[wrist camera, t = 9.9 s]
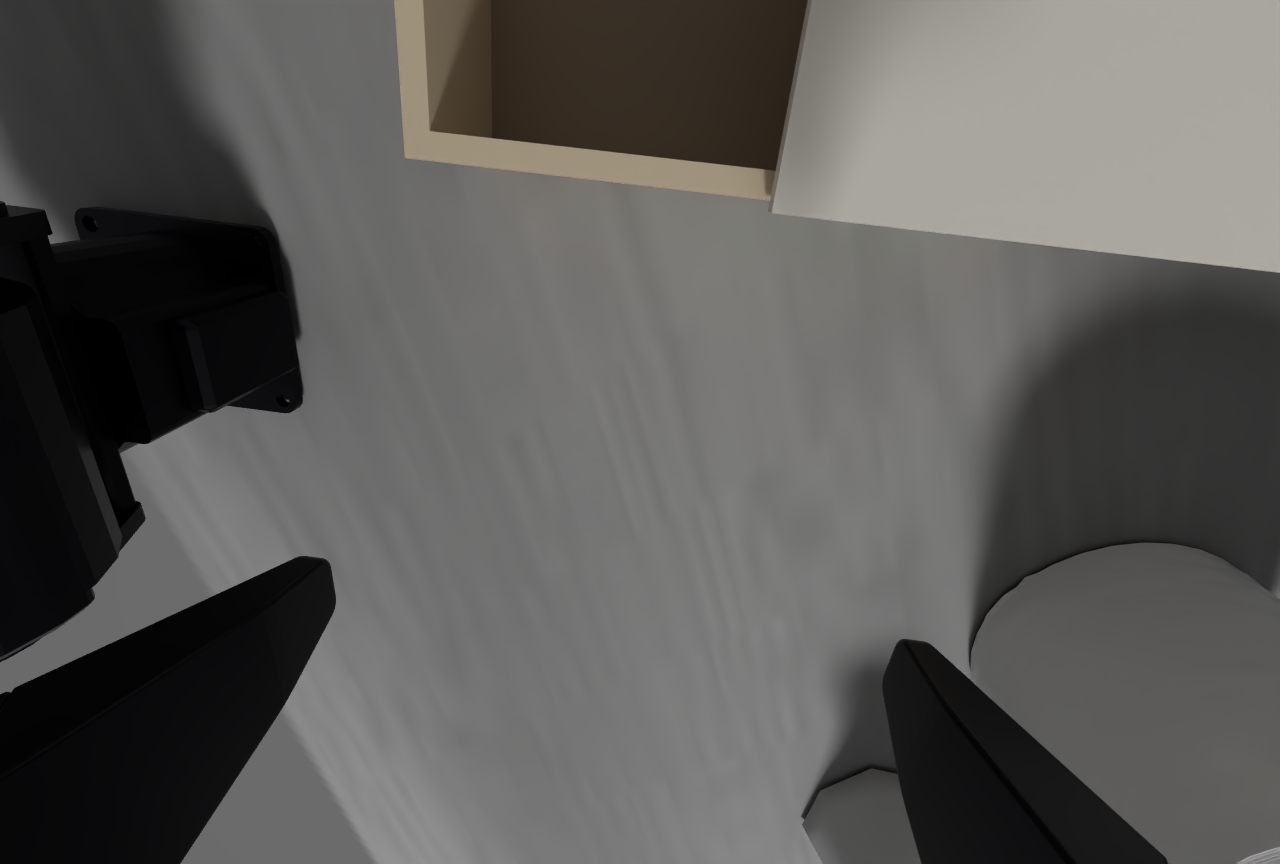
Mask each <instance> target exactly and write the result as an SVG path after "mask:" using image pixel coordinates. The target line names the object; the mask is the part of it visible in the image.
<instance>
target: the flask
mask: <svg viewBox="0 0 1280 864" xmlns="http://www.w3.org/2000/svg"><path fill="white" fill-rule="evenodd" d="M802 825H803V827H804V829H805V831H806V833H807V835H808V837H809V839H810V841H811V843H812V844H813V846H814V848H815V850H816V852H817V853H818V855H819V857H820V859H821V861H822V862H823V864H921V861H920V857H919V854H918V850H917V847H916V844H915V840H914V837H913V833H912V830H911V826H910V823H909V819H908V816H907V812H906V809H905V805H904V801H903V797H902V793H901V788H900V784H899V779H898V774H896V773H891V772H886V771H881V770H876V769H872V768H871V769H869V770H866V771H864V772H862V773H860V774H857V775H855V776H853V777H850V778H848V779H846V780H843V781H841V782H839V783H836V784H834V785H832V786H830V787H827V788H825V789H823V790H820V792H819V794H818V796H817V798H816V799H815V801H814V803H813V805H812V807H811V809H810V811H809V813H808V814H807V816H806V818H805V820H804V822H803V824H802Z"/></svg>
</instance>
